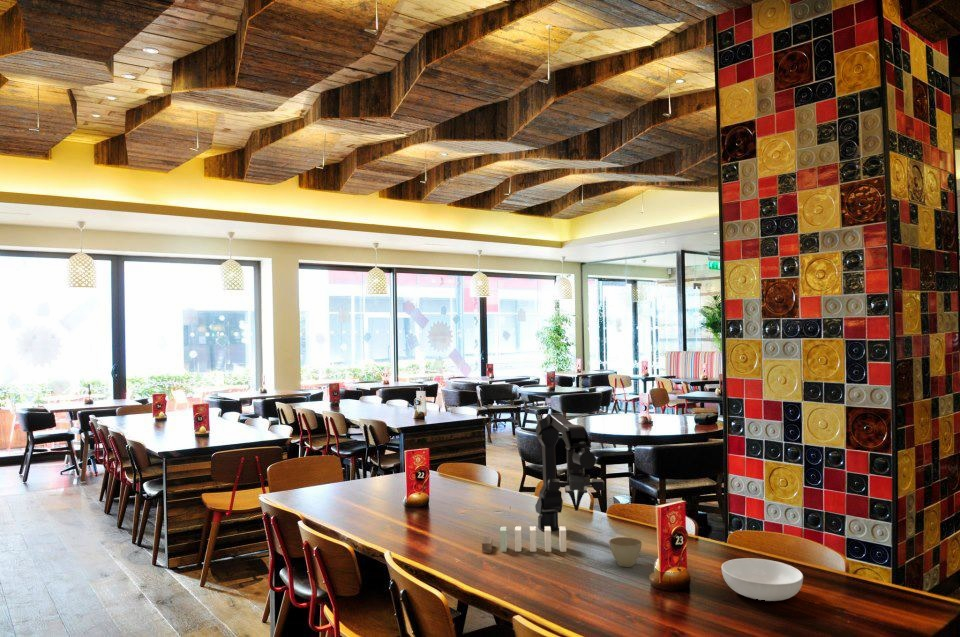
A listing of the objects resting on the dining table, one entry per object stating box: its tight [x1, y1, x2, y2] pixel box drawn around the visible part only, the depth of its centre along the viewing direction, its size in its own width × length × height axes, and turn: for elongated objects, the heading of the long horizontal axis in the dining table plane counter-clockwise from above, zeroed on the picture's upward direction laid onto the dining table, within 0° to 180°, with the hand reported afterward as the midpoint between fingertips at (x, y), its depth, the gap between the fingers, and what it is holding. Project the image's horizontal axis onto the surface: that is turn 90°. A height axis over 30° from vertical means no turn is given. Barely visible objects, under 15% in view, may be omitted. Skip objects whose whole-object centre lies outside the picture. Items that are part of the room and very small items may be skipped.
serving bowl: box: [720, 557, 804, 602], centre depth 194 cm, size 21×21×7 cm
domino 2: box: [529, 525, 537, 552], centre depth 238 cm, size 2×5×7 cm, turn 176°
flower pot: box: [608, 536, 643, 568], centre depth 221 cm, size 10×10×7 cm
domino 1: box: [514, 525, 522, 552], centre depth 239 cm, size 2×5×7 cm, turn 176°
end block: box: [481, 536, 493, 553], centre depth 239 cm, size 3×8×3 cm, turn 176°
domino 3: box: [544, 526, 552, 553], centre depth 238 cm, size 2×5×7 cm, turn 176°
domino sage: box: [499, 526, 508, 553], centre depth 239 cm, size 2×5×7 cm, turn 176°
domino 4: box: [558, 525, 567, 553], centre depth 238 cm, size 2×5×7 cm, turn 176°
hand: (576, 510), depth 237 cm, fingers closed
